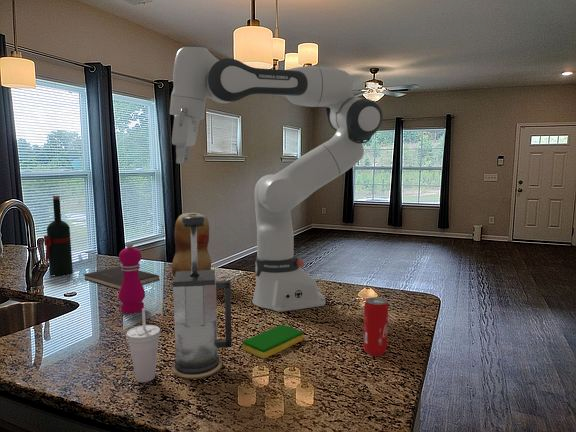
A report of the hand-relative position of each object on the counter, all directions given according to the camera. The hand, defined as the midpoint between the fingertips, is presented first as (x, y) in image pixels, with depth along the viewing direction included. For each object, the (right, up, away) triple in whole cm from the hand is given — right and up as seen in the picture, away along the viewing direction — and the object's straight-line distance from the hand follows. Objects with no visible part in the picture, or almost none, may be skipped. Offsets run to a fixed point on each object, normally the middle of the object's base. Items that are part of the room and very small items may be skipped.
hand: (182, 162), depth 112 cm
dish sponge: (+25, -45, -13) cm, 53 cm away
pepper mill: (-17, -42, +9) cm, 46 cm away
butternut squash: (-6, -38, +37) cm, 53 cm away
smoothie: (0, -47, -29) cm, 55 cm away
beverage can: (+48, -45, -17) cm, 68 cm away
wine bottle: (-60, -37, +48) cm, 85 cm away
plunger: (+9, -29, -26) cm, 40 cm away
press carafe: (+9, -46, -24) cm, 53 cm away
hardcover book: (-33, -38, +42) cm, 66 cm away
